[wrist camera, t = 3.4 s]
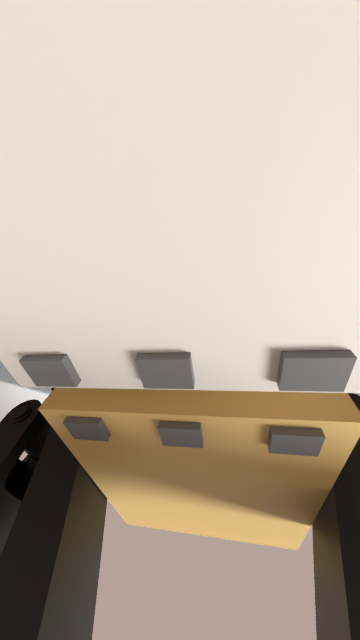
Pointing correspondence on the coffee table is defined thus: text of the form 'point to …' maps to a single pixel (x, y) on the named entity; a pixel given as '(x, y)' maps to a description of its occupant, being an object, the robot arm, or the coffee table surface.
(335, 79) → the white box
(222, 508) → the stub
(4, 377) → the coffee table surface
